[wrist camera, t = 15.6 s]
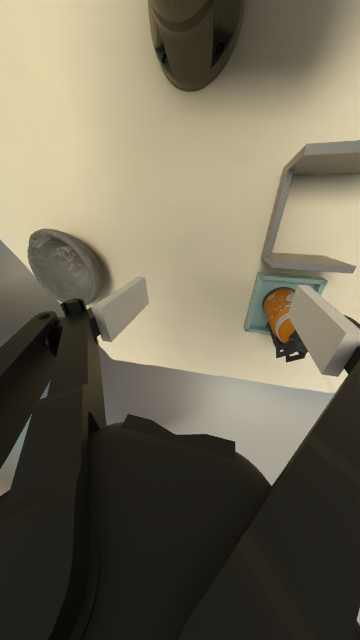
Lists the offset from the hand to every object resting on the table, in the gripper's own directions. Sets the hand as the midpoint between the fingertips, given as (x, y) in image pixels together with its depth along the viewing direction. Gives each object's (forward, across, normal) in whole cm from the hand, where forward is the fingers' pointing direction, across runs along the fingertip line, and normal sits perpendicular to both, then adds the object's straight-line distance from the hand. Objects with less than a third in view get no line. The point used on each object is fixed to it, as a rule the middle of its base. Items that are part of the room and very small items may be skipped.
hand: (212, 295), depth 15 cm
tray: (+34, +17, -16) cm, 41 cm away
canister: (+34, +16, -16) cm, 40 cm away
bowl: (+34, -46, -7) cm, 58 cm away
